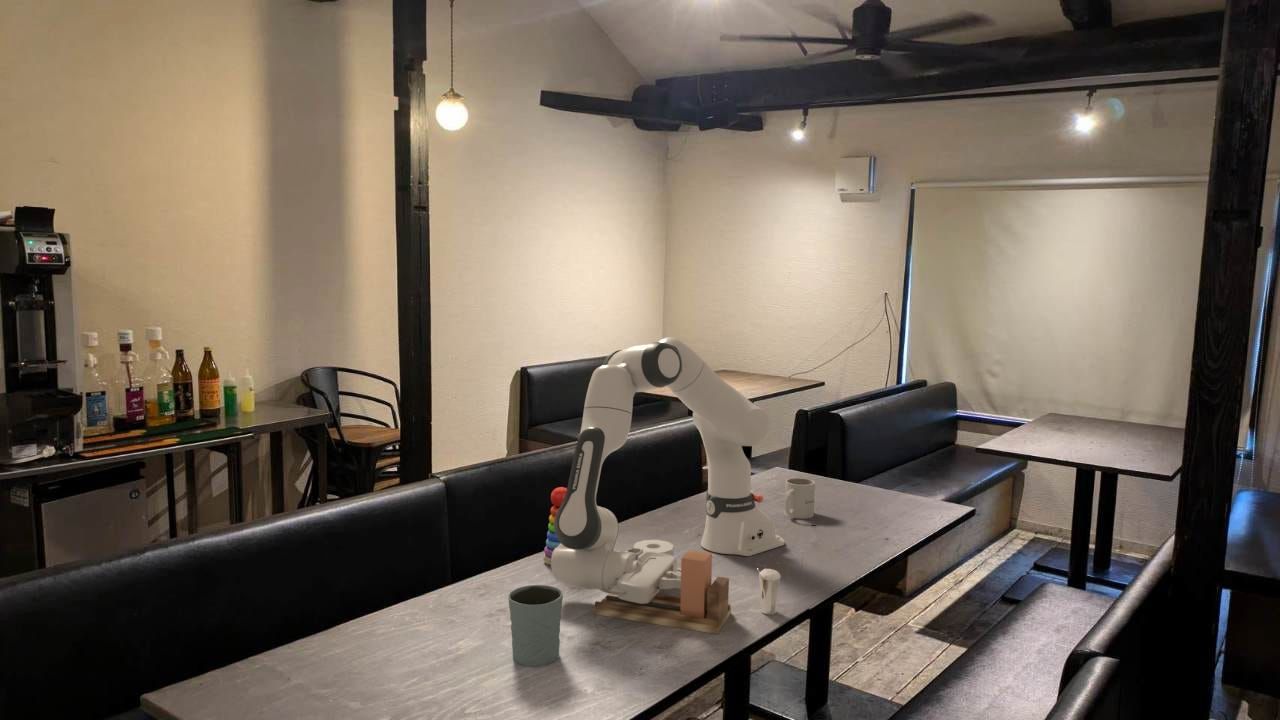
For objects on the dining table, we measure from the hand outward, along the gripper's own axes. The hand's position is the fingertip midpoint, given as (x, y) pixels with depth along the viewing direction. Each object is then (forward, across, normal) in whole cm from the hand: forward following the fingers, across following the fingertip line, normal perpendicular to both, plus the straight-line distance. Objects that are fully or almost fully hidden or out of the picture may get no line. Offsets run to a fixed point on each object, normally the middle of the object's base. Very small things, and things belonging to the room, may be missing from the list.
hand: (684, 582), depth 175 cm
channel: (-5, 0, +7) cm, 9 cm away
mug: (+9, +82, +8) cm, 83 cm away
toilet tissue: (-14, +16, +8) cm, 23 cm away
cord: (-6, 0, +6) cm, 8 cm away
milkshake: (+16, +9, +8) cm, 20 cm away
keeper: (+3, 0, +6) cm, 6 cm away
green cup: (-21, -27, +8) cm, 35 cm away
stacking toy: (-38, +20, +8) cm, 44 cm away
